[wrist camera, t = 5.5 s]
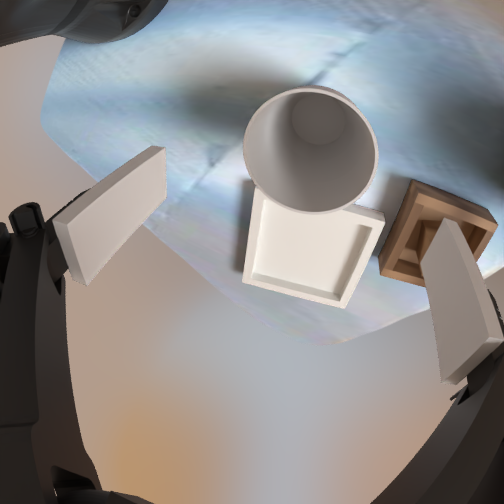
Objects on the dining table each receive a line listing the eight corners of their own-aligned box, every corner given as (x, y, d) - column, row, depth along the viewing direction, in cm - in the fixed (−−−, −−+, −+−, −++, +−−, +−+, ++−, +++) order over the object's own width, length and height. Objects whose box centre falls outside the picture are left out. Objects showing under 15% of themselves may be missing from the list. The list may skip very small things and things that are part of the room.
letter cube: (415, 251, 29) (422, 276, 26) (421, 219, 26) (430, 243, 23) (447, 253, 28) (456, 278, 25) (455, 222, 25) (467, 245, 22)
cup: (256, 106, 25) (217, 137, 17) (330, 59, 20) (328, 62, 13) (307, 175, 28) (292, 233, 20) (380, 136, 23) (401, 181, 16)
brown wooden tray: (378, 257, 31) (380, 275, 29) (411, 178, 25) (418, 192, 23) (448, 277, 30) (453, 295, 28) (487, 209, 24) (498, 225, 21)
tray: (246, 272, 38) (242, 282, 37) (259, 180, 30) (254, 188, 28) (345, 298, 36) (344, 308, 35) (383, 212, 28) (385, 222, 27)
